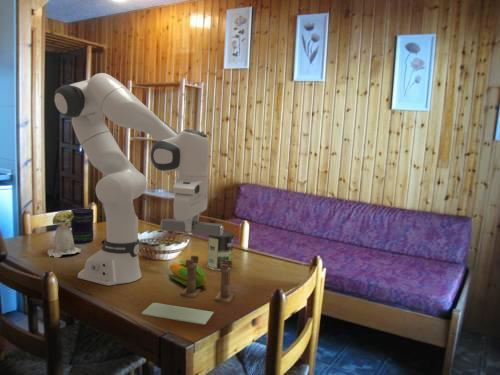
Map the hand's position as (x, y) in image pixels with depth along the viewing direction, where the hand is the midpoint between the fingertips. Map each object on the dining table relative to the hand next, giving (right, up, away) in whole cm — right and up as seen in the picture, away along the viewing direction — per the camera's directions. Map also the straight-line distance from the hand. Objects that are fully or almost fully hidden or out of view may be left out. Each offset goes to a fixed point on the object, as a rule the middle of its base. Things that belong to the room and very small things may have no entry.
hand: (191, 229), depth 124 cm
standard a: (-2, -23, +15) cm, 28 cm away
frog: (-61, -15, +49) cm, 80 cm away
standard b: (+9, -24, +12) cm, 29 cm away
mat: (-4, -25, -1) cm, 26 cm away
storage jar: (-61, -13, +67) cm, 92 cm away
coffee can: (+5, -20, +44) cm, 48 cm away
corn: (-6, -22, +24) cm, 33 cm away
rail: (0, -1, 0) cm, 1 cm away
